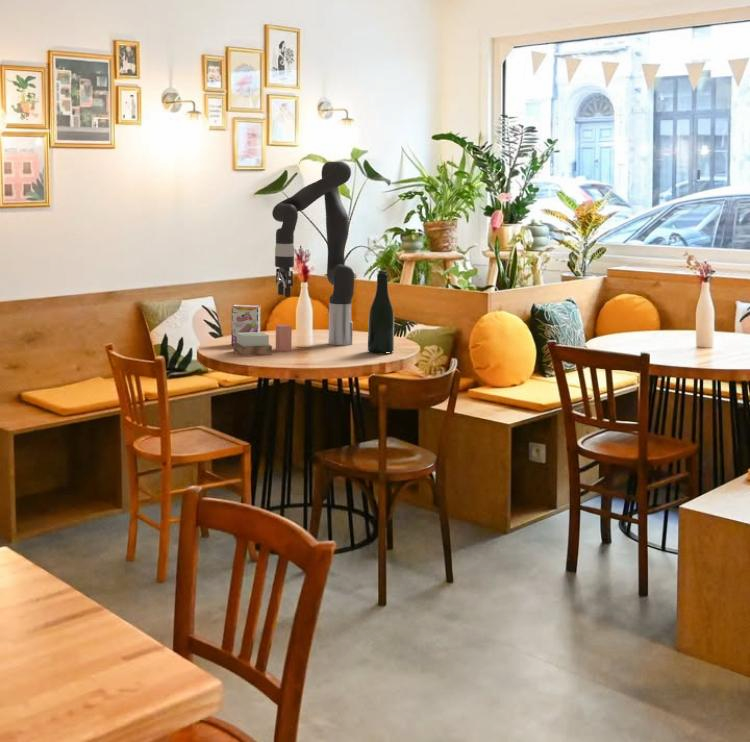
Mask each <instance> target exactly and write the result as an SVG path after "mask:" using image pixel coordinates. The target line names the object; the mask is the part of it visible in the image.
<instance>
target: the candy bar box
mask: <svg viewBox="0 0 750 742" xmlns="http://www.w3.org/2000/svg"><path fill="white" fill-rule="evenodd" d="M245 332H261V305H251V304H250V305H249V304H246V305H245V304H233V305H232V306H231V343H230V344H231V346H234V343H237V333H245Z"/></svg>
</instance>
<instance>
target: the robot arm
mask: <svg viewBox="0 0 750 742" xmlns="http://www.w3.org/2000/svg"><path fill="white" fill-rule="evenodd" d="M351 175H352V169H351V167H350V165H349V164H348V163H347V162H345V161H327V162H325V163H324V164H323V165H322V167H321V178H320V179H318V180H316V181H314V182H312V183H310V184H308V185H306V186H304V187H303V188H300V190H298V191H297V192H296V193H294V194H293V195H292V196H290V197H287V198H286V199H284V200H282V201H280V202H279V203H277V204H276V205H275V206H274V207H273V209H272V212H271V215H272V217H273V219H274V220H275V221H276V222H279V223H281V224H282V225H281V226H280V228H278V229H276V231H275V247H274V267H275V268H276V269H275V283H276V284H277V285H276V286H277V294H278V295H279V296H283V295H284V297H285V298H290V297H291V288H292V287H293V286H294V281H293V280H294V277H293V276H294V275H293V274H294V273H293V270H291V268H294V267H295V246H294V242H295V241H294V240H295V239H294V238H295V236H294V233H295V230H296V226H297V222H298V219H299V218H298V217H299V213H298V212H302V211H304V210H306V209H307V208H308V207H310V206H311V205H312V204H313V203H315V202H316V201H317V200H319V199H320V198H321V197H322V196H324V206H325V209H324V210H325V228H326V230H325V231H326V243H327V245H326V246H327V247H326V248H327V265H326V278H327V280H328V282H329V283H330V285H332V286H333V292H332V294H331V295H330V296H329V299H328V300H329V301H328V303H329V306H328V307H329V308H328V313H329V314H328V344H329V345H332V346H333V345H334V346H349V345H353V334H354V333H353V330H354V329H353V328H354V327H353V326H354V324H353V321H352V301H353V300H352V299H353V297H354V294H355V292H354V290H355V289H354V288H355V273H354V270H353V269H352V267H350V266H349V265H346V264H345V263H346V262H345V248H346V244H347V241H348V238H349V237H348V236H349V228H350V227H349V217H348V212H347V211H346V208H345V206H344V204H343V202H342V200H341V198H340V192H339V187H340V186H342V185H344V184H346V183H348V181H349V180H350V178H351V177H352V176H351Z"/></svg>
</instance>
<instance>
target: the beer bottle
mask: <svg viewBox="0 0 750 742" xmlns="http://www.w3.org/2000/svg"><path fill="white" fill-rule="evenodd" d="M377 272H378V273H377V274H376V291H375V295H374V298H373V301H372V303H371V306H370V309H369V312H368V313H369V315H368V325H367V326H368V328H367V332H368V333H367V352H368V351H369V352H368V353H370V352H372V353H371V354H374V353H386V352H392V351H393V352H394V350H395V349H394V347H395V345H394V344H395V315H394V314H395V313H394V308H393V307H394V306H393V305H392V302H391V299H390V296H389V287H388V285H389V283H388V282H389V281H388V280H389V274H388V271H387V270H383V269H382V270H378V271H377ZM393 352H392V353H393Z"/></svg>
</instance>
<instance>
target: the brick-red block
mask: <svg viewBox="0 0 750 742" xmlns="http://www.w3.org/2000/svg"><path fill="white" fill-rule="evenodd" d="M292 328H293V327H292V326H291V325H289V324H276V325H275V351H278V352H291V351H292V337H293V336H292V335H293V334H292V333H293V331H292V330H293V329H292Z"/></svg>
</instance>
